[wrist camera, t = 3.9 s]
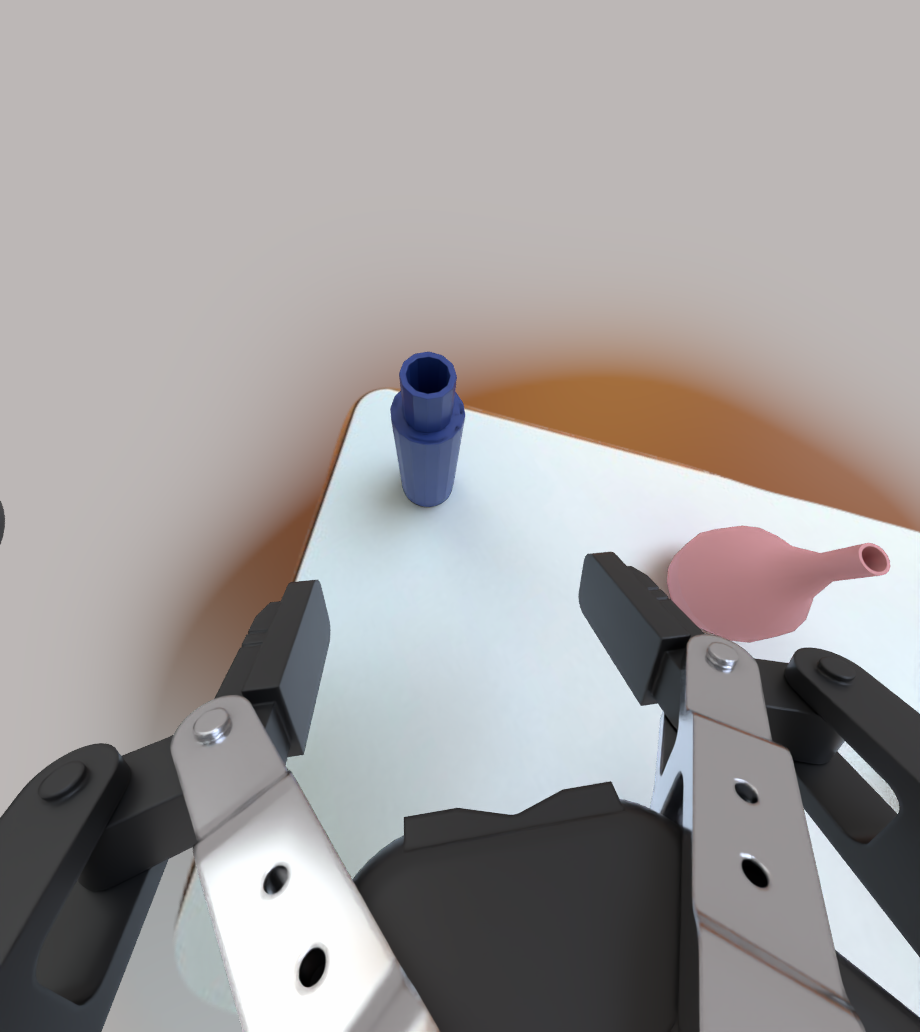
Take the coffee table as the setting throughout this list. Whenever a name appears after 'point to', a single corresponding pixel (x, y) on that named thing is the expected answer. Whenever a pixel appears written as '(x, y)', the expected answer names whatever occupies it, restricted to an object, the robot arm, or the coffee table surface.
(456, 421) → the bottle
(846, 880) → the coffee table surface
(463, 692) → the coffee table surface
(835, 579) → the pink bud vase
